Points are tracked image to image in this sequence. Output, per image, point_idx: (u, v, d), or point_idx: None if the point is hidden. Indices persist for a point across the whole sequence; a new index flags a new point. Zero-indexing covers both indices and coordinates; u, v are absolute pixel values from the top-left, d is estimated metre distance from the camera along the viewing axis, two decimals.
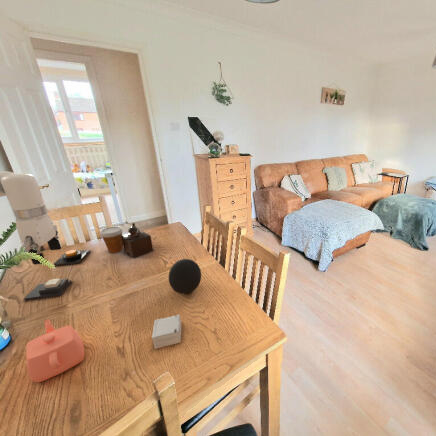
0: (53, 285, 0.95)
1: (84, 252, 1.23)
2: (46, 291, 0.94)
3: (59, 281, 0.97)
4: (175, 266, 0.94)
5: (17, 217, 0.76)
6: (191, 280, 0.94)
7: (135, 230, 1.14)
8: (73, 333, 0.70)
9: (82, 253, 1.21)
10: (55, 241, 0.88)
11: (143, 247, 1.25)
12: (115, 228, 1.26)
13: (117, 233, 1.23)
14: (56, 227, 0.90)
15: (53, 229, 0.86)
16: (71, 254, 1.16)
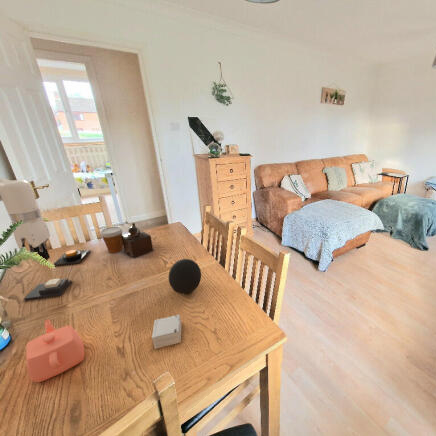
0: (53, 285, 0.95)
1: (84, 252, 1.23)
2: (46, 291, 0.94)
3: (59, 281, 0.97)
4: (175, 266, 0.94)
5: (13, 220, 0.82)
6: (191, 280, 0.94)
7: (135, 230, 1.14)
8: (73, 333, 0.70)
9: (82, 253, 1.21)
10: None
11: (143, 247, 1.25)
12: (115, 228, 1.26)
13: (117, 233, 1.23)
14: (47, 239, 0.94)
15: (47, 231, 0.92)
16: (71, 254, 1.16)
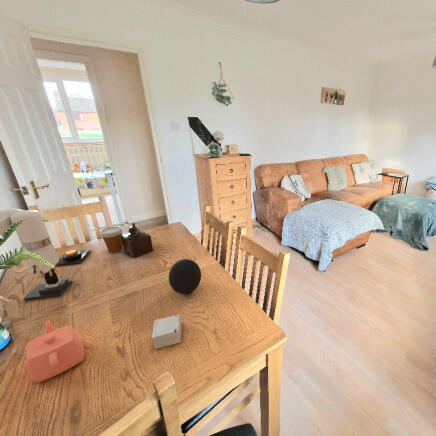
0: (54, 286, 0.95)
1: (84, 252, 1.23)
2: (46, 291, 0.94)
3: (59, 282, 0.98)
4: (175, 266, 0.94)
5: None
6: (191, 280, 0.94)
7: (135, 230, 1.14)
8: (73, 333, 0.70)
9: (82, 253, 1.21)
10: None
11: (143, 247, 1.25)
12: (115, 228, 1.26)
13: (117, 233, 1.23)
14: (56, 263, 0.98)
15: (56, 256, 0.96)
16: (71, 254, 1.16)
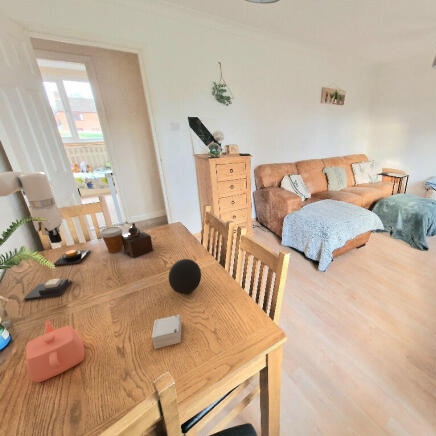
0: (53, 285, 0.95)
1: (84, 252, 1.23)
2: (46, 291, 0.94)
3: (59, 281, 0.97)
4: (175, 266, 0.94)
5: (31, 206, 0.95)
6: (191, 280, 0.94)
7: (135, 230, 1.14)
8: (73, 333, 0.70)
9: (82, 253, 1.21)
10: None
11: (143, 247, 1.25)
12: (115, 228, 1.26)
13: (117, 233, 1.23)
14: None
15: (60, 217, 1.05)
16: (71, 254, 1.16)
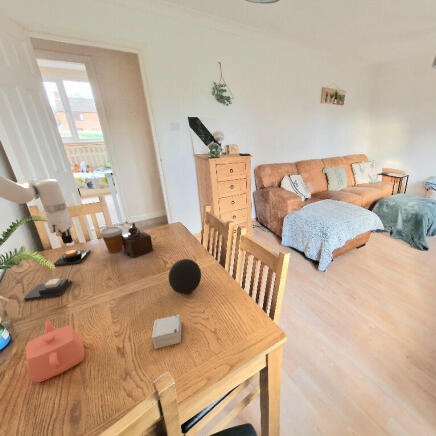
0: (53, 285, 0.95)
1: (84, 252, 1.23)
2: (46, 291, 0.94)
3: (59, 281, 0.97)
4: (175, 266, 0.94)
5: (46, 211, 1.05)
6: (191, 280, 0.94)
7: (135, 230, 1.14)
8: (73, 333, 0.70)
9: (82, 253, 1.21)
10: None
11: (143, 247, 1.25)
12: (115, 228, 1.26)
13: (117, 233, 1.23)
14: (70, 227, 1.17)
15: (71, 220, 1.15)
16: (71, 254, 1.16)
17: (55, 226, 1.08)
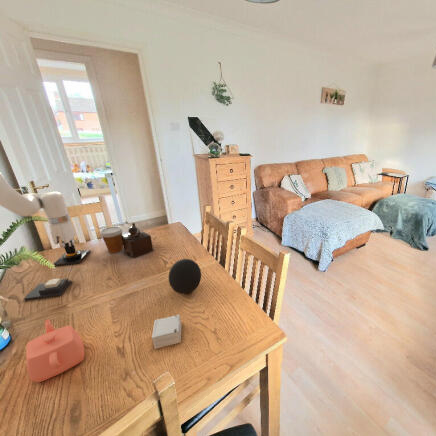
0: (53, 285, 0.95)
1: (84, 252, 1.23)
2: (46, 291, 0.94)
3: (59, 281, 0.97)
4: (175, 266, 0.94)
5: (50, 223, 1.08)
6: (191, 280, 0.94)
7: (135, 230, 1.14)
8: (73, 333, 0.70)
9: (82, 253, 1.21)
10: None
11: (143, 247, 1.25)
12: (115, 228, 1.26)
13: (117, 233, 1.23)
14: (73, 237, 1.20)
15: (74, 231, 1.18)
16: (71, 255, 1.17)
17: (59, 237, 1.10)
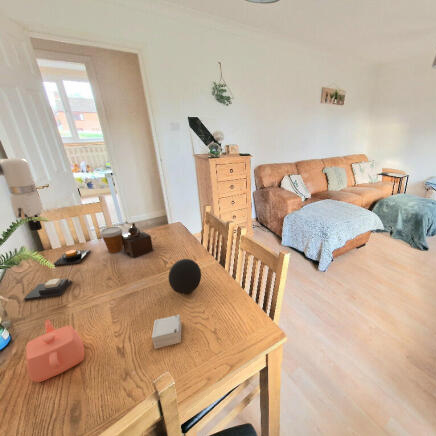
0: (53, 285, 0.95)
1: (84, 252, 1.23)
2: (46, 291, 0.94)
3: (59, 281, 0.97)
4: (175, 266, 0.94)
5: (11, 192, 0.95)
6: (191, 280, 0.94)
7: (135, 230, 1.14)
8: (73, 333, 0.70)
9: (82, 253, 1.21)
10: None
11: (143, 247, 1.25)
12: (115, 228, 1.26)
13: (117, 233, 1.23)
14: (40, 212, 1.07)
15: (40, 205, 1.05)
16: (71, 254, 1.16)
17: (21, 210, 0.97)
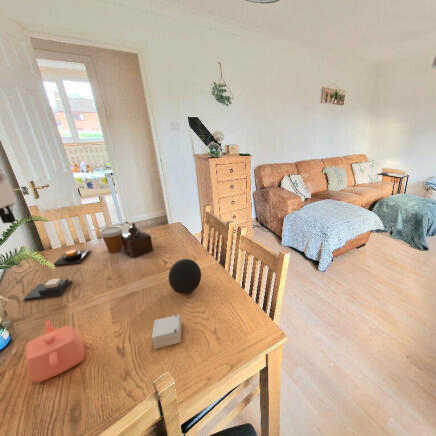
0: (53, 285, 0.95)
1: (84, 252, 1.23)
2: (46, 291, 0.94)
3: (59, 281, 0.97)
4: (175, 266, 0.94)
5: None
6: (191, 280, 0.94)
7: (135, 230, 1.14)
8: (73, 333, 0.70)
9: (82, 253, 1.21)
10: None
11: (143, 247, 1.25)
12: (115, 228, 1.26)
13: (117, 233, 1.23)
14: (13, 204, 0.99)
15: (13, 195, 0.97)
16: (71, 254, 1.16)
17: None
